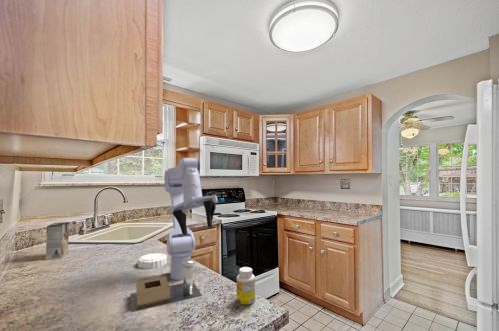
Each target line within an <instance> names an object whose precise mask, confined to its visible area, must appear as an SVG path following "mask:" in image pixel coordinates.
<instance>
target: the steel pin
mask: <svg viewBox="0 0 499 331" xmlns="http://www.w3.org/2000/svg"><path fill="white" fill-rule="evenodd" d="M195 262H196V261H195V259H193V258H192V259H191V258H190V259H186V260H183V261H182V266H184V267H183V279H182V280H183V281H182V283H183V294H184V295H190V294H192V293H193V282H194V265H196V264H195Z"/></svg>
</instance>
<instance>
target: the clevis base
mask: <svg viewBox="0 0 499 331" xmlns="http://www.w3.org/2000/svg"><path fill="white" fill-rule="evenodd" d="M135 283H136V285H135V292H133V293H132V292H131V293H130V313H134V312H139V311H143V310H146V309H147V310H148V309H152V308H157V307H159V306H163V305H169V304H173V303H177V302H181V301H185V300H189V299H190V300H191V299H194V298H199V297H203V295H202V293H201V291H200V290H199V289H198V287H197V285H196V284H195V282H194V281H193V293H192V294H190V295H184V294H183V282H182V283H178V284H173V285H170V284H169V281H168V279H167V276H166V275H165V276H161V277H153V278H150V279H145V280H138V281H135Z"/></svg>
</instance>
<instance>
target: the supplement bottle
mask: <svg viewBox="0 0 499 331" xmlns="http://www.w3.org/2000/svg"><path fill="white" fill-rule="evenodd" d="M236 302H237V303H238V304H239V305H241V306H250V305H253V304H254V303H256V276H255V275H254V274H253V268H251V267H248V266H243V267H240V268H239V271H238V274H237V276H236Z"/></svg>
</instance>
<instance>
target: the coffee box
mask: <svg viewBox="0 0 499 331" xmlns="http://www.w3.org/2000/svg"><path fill="white" fill-rule="evenodd" d="M69 229H70V221H65V222H63V221H60V222H53V223H51V224H49V225H47V226H46V244H45V245H46V246H45V247H46V248H45V260H46V261H49V260H50V261H52V260H59V259H62V258H64V257H65V256H66V255H67V254H69V235H70V234H69V231H70V230H69Z"/></svg>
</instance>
